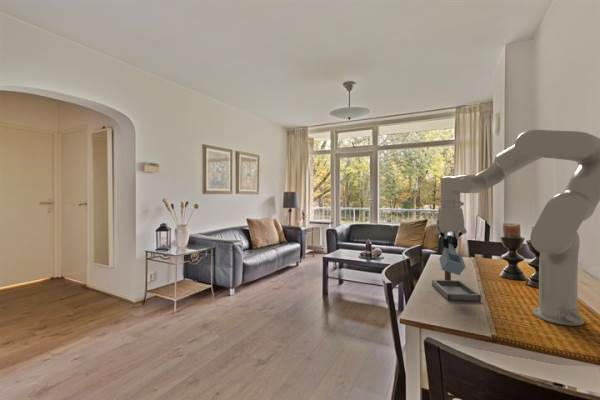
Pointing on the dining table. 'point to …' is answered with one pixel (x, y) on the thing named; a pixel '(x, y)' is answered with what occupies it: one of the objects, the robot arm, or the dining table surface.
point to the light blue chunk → (451, 261)
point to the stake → (447, 275)
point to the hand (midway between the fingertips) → (450, 247)
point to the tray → (456, 290)
